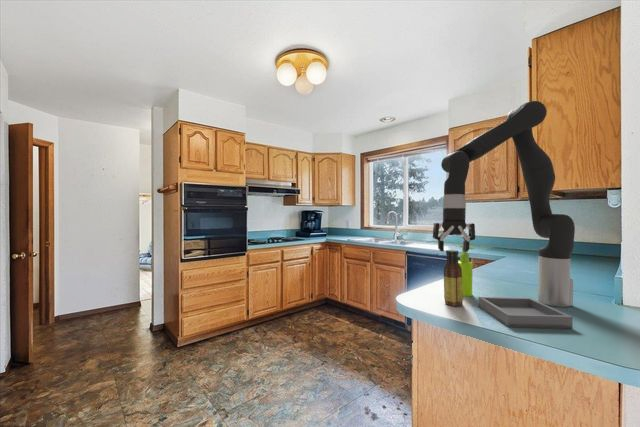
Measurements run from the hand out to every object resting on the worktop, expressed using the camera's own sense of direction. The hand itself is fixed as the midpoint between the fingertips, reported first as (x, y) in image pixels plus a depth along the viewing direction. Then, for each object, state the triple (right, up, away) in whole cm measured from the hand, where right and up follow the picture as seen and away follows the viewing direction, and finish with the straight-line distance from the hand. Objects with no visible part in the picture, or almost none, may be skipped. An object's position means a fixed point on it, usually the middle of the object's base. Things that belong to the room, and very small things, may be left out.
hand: (453, 251), depth 104 cm
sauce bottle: (0, -20, 0) cm, 20 cm away
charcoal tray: (+16, -20, -12) cm, 28 cm away
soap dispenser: (+11, -20, +12) cm, 26 cm away
